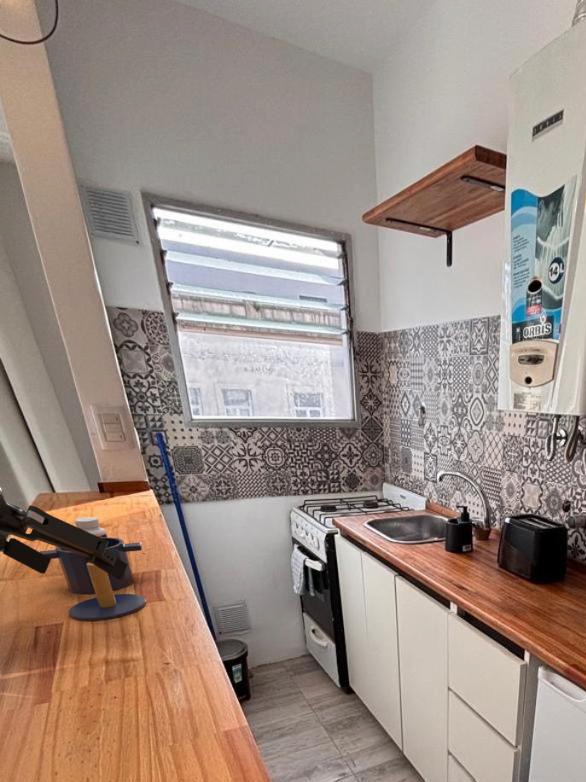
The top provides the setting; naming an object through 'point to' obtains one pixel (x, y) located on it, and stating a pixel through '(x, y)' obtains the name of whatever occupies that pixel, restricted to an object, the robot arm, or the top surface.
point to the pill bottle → (90, 526)
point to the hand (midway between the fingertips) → (84, 569)
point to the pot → (78, 570)
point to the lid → (105, 600)
